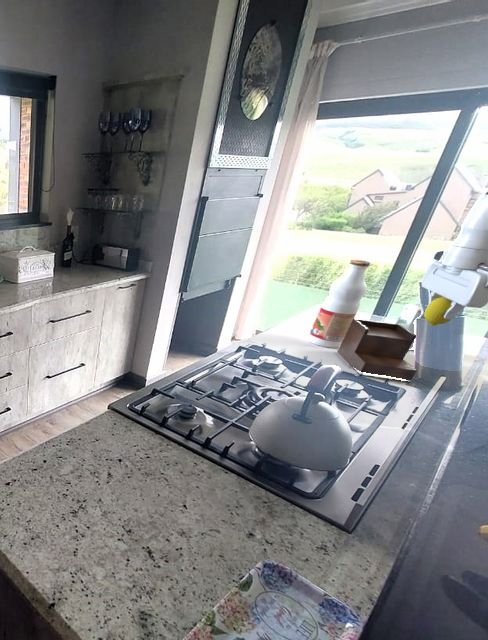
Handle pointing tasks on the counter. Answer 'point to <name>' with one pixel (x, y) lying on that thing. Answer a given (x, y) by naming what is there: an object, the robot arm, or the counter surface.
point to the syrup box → (409, 317)
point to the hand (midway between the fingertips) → (438, 314)
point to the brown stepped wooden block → (378, 348)
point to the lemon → (437, 311)
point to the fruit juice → (340, 306)
